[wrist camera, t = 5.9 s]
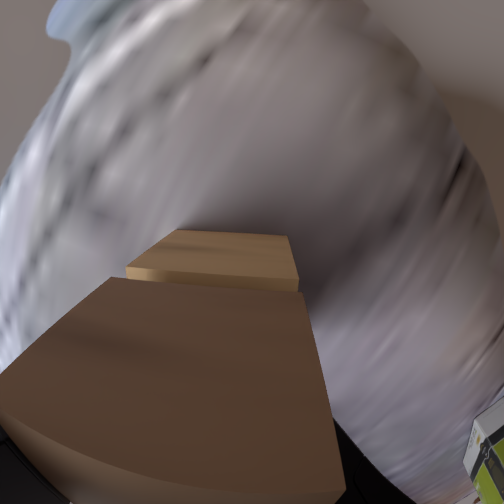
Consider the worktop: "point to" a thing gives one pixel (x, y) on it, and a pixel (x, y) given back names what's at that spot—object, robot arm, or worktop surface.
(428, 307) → the worktop surface
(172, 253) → the oak block
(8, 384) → the walnut block
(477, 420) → the tea box
